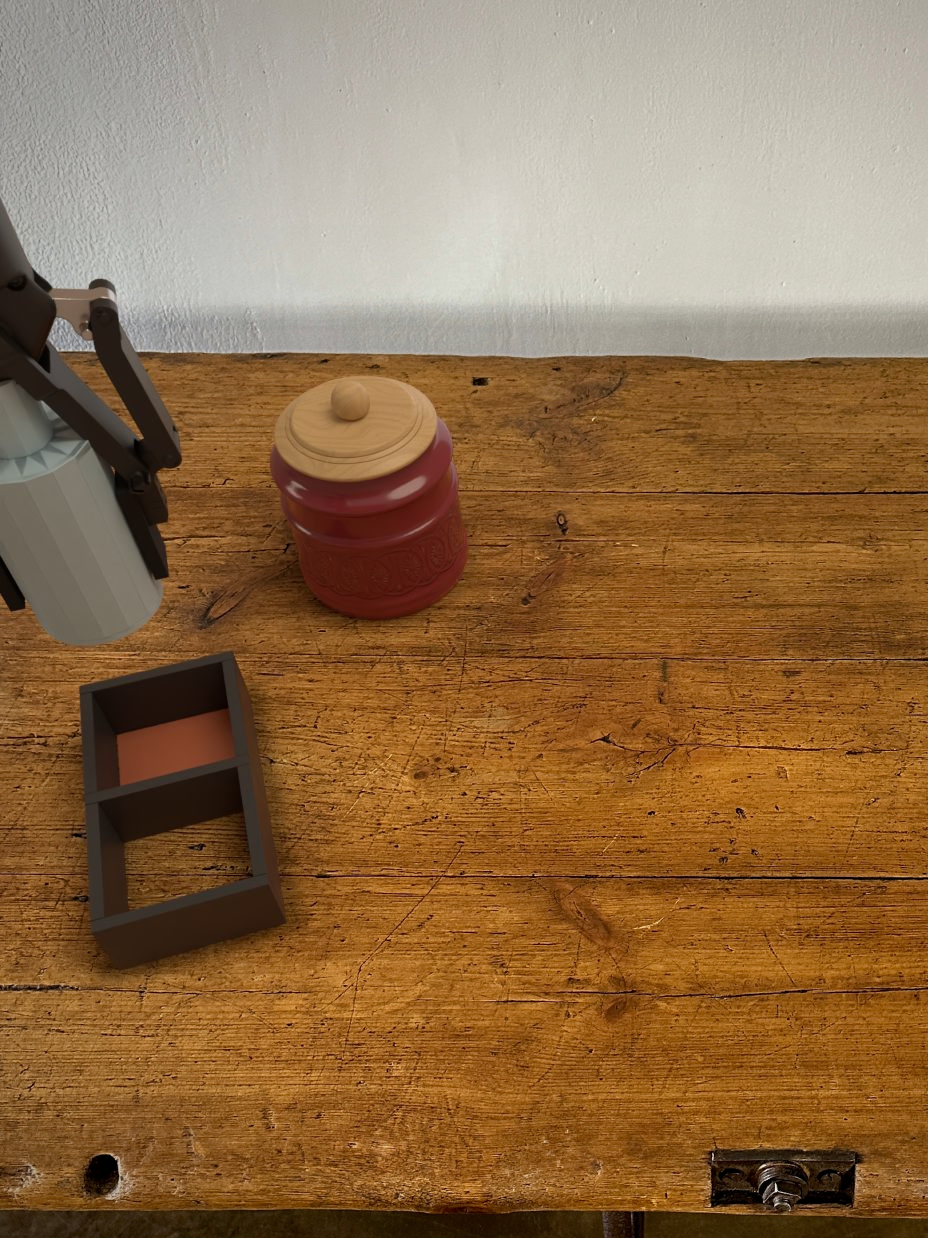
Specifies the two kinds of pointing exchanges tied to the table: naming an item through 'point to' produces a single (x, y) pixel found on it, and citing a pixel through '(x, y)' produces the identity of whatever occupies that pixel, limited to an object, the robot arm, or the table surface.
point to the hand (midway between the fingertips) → (89, 577)
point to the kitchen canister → (370, 496)
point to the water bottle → (67, 529)
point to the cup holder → (173, 802)
